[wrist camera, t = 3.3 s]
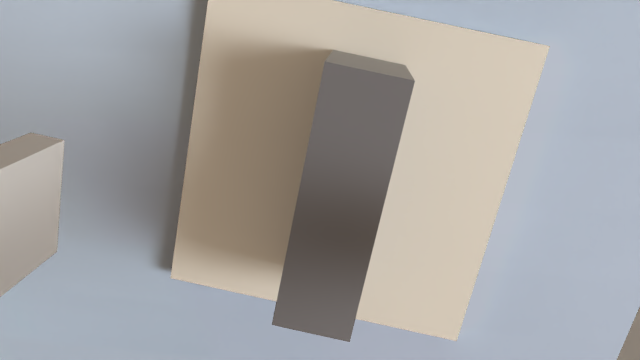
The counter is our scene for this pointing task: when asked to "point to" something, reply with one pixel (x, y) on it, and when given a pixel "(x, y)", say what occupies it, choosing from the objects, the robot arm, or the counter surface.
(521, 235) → the counter surface
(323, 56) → the cover
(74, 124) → the counter surface
